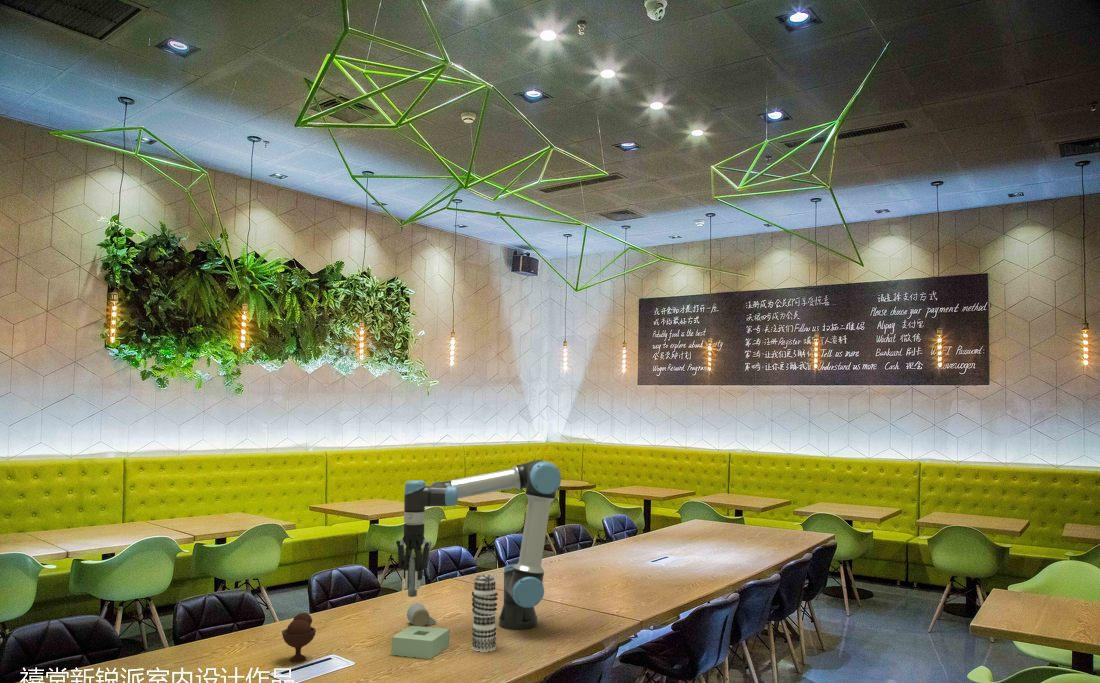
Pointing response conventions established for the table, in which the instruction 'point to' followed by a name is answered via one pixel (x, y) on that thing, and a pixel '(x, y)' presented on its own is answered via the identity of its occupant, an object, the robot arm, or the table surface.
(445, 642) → the socket block
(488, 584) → the decorative candle
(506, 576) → the robot arm
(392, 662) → the table surface
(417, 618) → the ceramic mug
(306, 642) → the ice cream bowl
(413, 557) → the pin
